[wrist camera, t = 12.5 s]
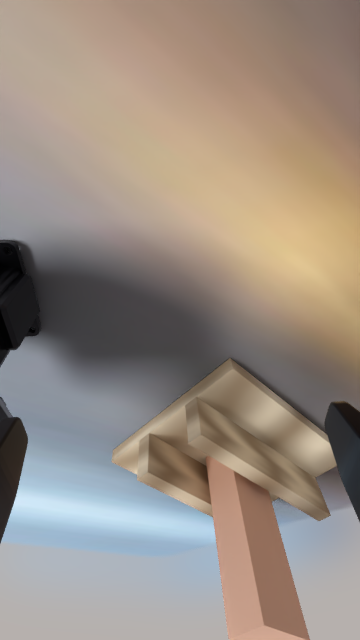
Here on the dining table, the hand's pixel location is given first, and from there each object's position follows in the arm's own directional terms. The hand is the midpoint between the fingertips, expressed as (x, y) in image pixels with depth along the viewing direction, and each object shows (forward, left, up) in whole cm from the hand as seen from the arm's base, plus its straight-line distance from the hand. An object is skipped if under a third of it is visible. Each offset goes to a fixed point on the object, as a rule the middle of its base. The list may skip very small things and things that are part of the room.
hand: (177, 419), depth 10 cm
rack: (+5, -19, -13) cm, 24 cm away
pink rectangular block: (+5, -19, -12) cm, 23 cm away
